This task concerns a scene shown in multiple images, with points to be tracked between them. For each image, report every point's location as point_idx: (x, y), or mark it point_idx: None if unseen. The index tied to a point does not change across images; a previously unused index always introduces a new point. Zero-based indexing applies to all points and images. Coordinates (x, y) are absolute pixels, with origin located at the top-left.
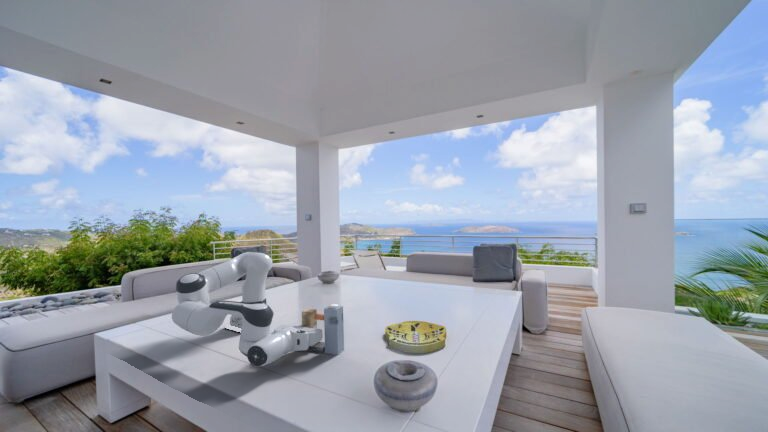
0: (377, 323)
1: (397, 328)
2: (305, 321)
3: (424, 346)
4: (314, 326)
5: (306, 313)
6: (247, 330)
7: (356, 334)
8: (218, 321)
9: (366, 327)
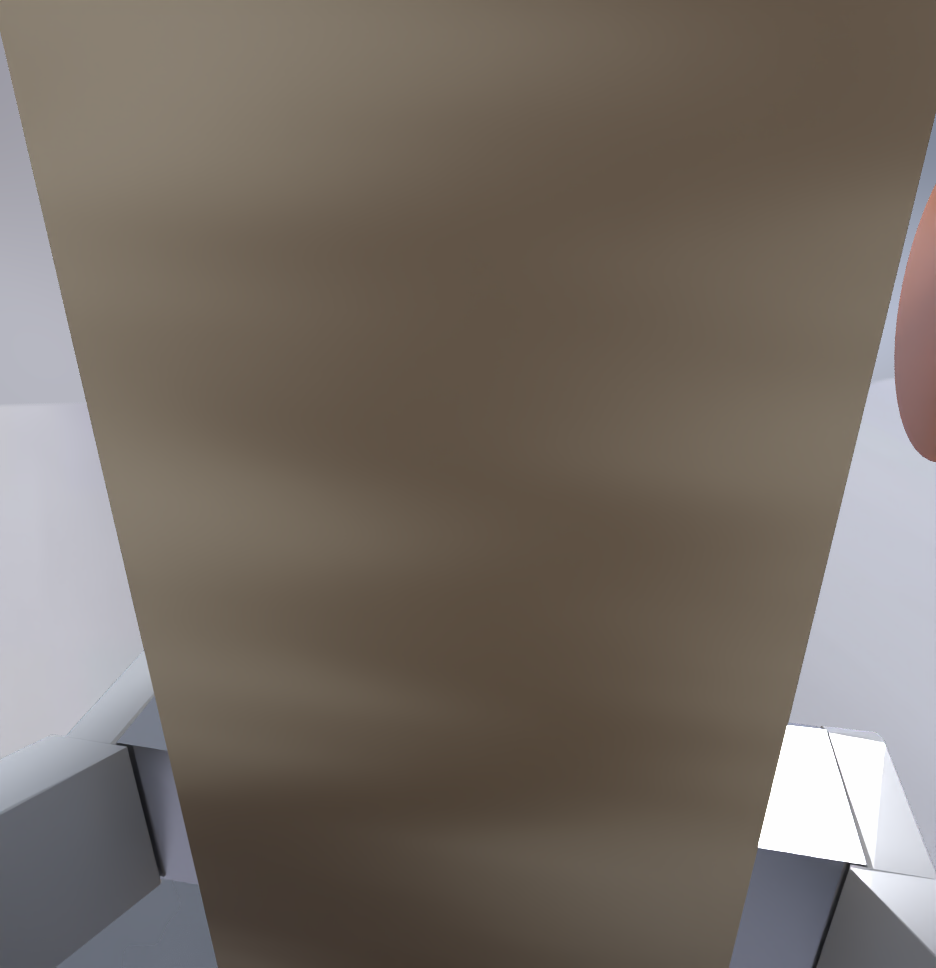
0: (889, 404)
1: None
2: (384, 616)
3: None
4: (836, 779)
5: (475, 11)
6: None
7: (918, 567)
8: None
9: (862, 454)
